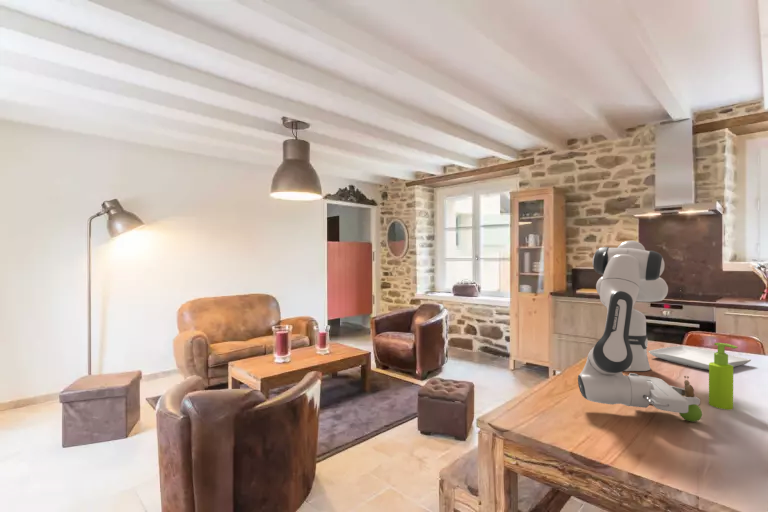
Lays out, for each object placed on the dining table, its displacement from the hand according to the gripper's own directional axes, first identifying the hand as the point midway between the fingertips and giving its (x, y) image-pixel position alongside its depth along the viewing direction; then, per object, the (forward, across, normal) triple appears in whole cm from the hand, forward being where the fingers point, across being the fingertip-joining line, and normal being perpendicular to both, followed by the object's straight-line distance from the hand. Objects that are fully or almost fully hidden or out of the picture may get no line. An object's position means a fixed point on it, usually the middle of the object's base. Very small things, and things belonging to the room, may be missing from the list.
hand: (693, 396), depth 114 cm
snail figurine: (-1, 0, +7) cm, 7 cm away
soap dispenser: (+14, +15, +7) cm, 22 cm away
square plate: (+29, +73, +8) cm, 79 cm away
